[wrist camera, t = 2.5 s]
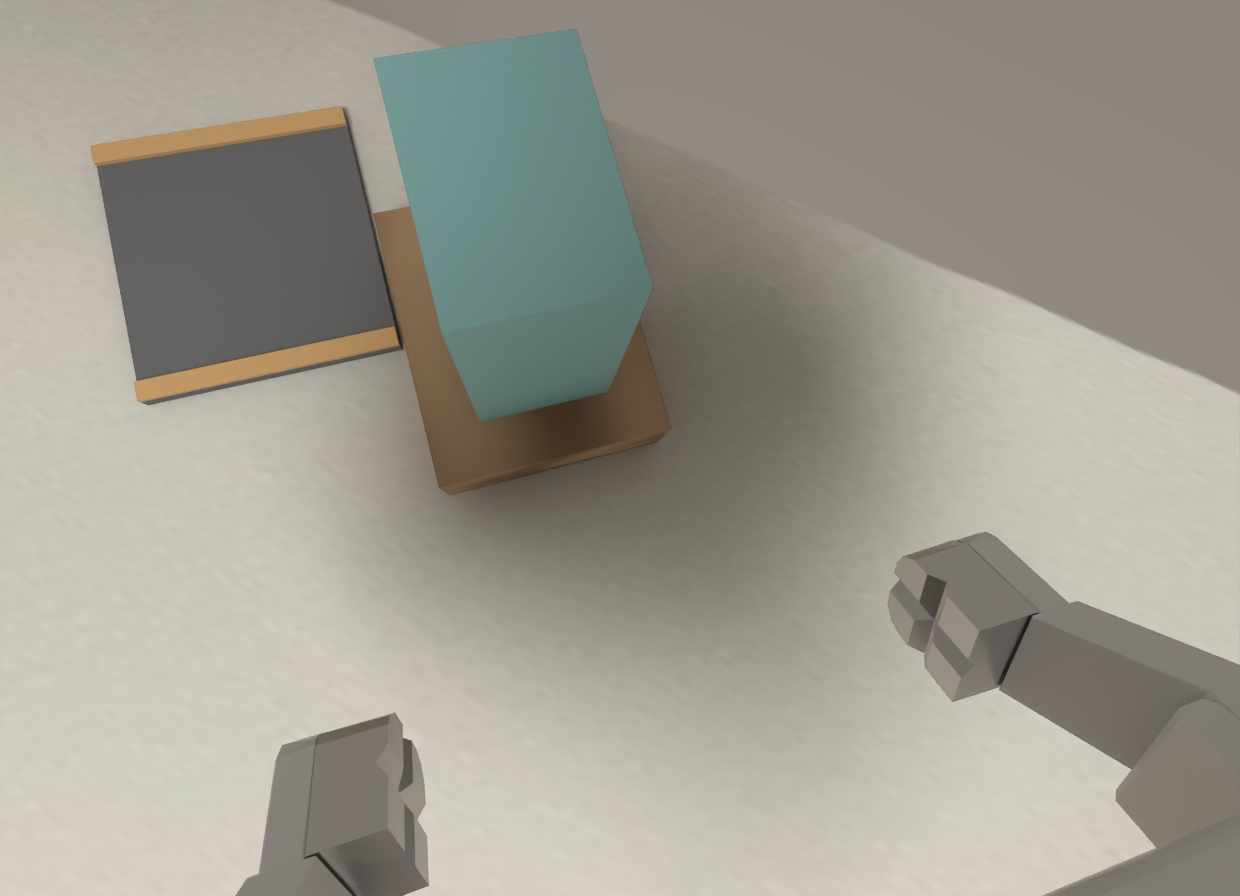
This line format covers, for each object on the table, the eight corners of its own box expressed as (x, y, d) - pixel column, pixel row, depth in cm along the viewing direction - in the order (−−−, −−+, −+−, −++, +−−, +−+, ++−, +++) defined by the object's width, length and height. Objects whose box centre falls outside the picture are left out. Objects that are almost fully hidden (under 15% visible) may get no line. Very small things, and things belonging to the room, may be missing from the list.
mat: (148, 404, 26) (137, 400, 25) (101, 156, 27) (90, 145, 27) (402, 349, 27) (398, 344, 27) (346, 116, 29) (341, 106, 28)
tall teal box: (480, 422, 24) (442, 333, 15) (437, 251, 25) (373, 58, 15) (608, 391, 25) (653, 287, 15) (562, 226, 26) (576, 28, 16)
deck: (449, 494, 27) (439, 487, 24) (390, 249, 28) (373, 213, 25) (657, 441, 28) (670, 428, 25) (590, 210, 30) (597, 172, 27)
